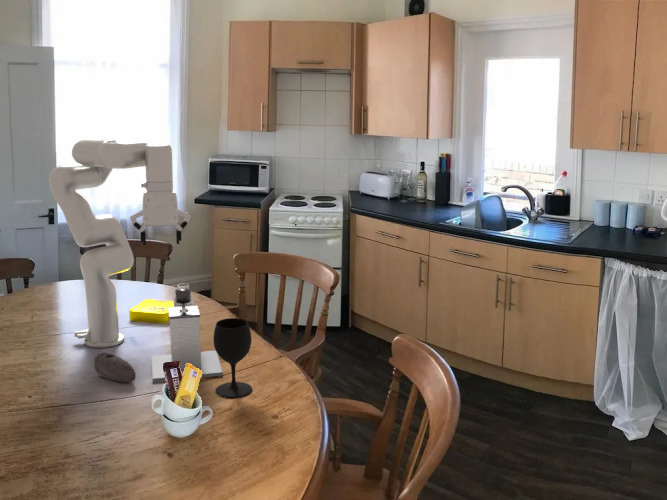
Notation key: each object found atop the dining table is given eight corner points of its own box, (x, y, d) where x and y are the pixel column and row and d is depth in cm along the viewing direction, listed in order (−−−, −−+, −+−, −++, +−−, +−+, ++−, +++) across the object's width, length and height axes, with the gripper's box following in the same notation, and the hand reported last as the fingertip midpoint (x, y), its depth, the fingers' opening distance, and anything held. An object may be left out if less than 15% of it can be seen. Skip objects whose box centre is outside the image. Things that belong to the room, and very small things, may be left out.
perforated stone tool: (142, 382, 212) (140, 360, 210) (127, 388, 208) (126, 365, 206) (107, 370, 220) (106, 349, 219) (93, 376, 216) (91, 354, 214)
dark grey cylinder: (178, 355, 219) (175, 292, 214) (177, 350, 223) (174, 288, 218) (193, 354, 220) (190, 291, 215) (192, 348, 224) (189, 287, 220)
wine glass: (216, 383, 211) (214, 317, 207) (252, 382, 212) (251, 316, 208) (213, 399, 201) (211, 329, 197) (252, 397, 202) (250, 329, 198)
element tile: (183, 312, 276) (183, 300, 274) (166, 325, 261) (165, 312, 260) (146, 309, 279) (146, 297, 278) (127, 321, 264) (126, 309, 263)
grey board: (152, 382, 212) (152, 378, 212) (151, 359, 229) (151, 356, 228) (222, 376, 217) (222, 372, 216) (216, 354, 234) (216, 350, 233)
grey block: (171, 370, 217) (169, 316, 213) (170, 356, 228) (167, 304, 224) (202, 368, 219) (199, 314, 215) (199, 353, 230) (197, 302, 226)
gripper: (128, 189, 208) (130, 247, 212) (190, 188, 212) (191, 245, 216) (128, 184, 215) (131, 241, 219) (189, 184, 219) (190, 239, 223)
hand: (161, 243), depth 218 cm, fingers open, 9 cm apart
